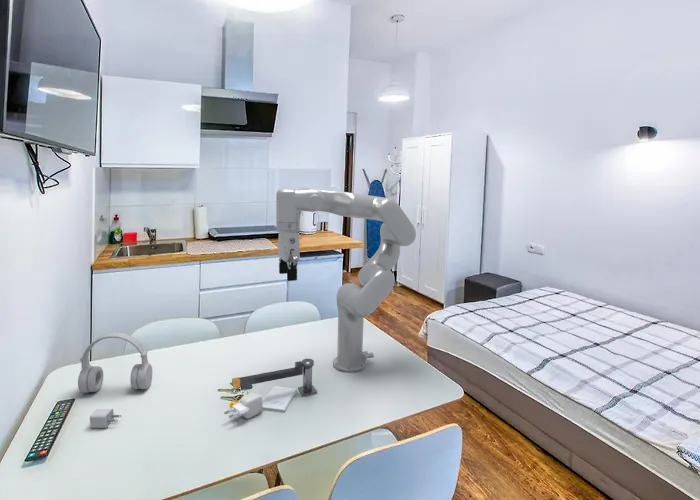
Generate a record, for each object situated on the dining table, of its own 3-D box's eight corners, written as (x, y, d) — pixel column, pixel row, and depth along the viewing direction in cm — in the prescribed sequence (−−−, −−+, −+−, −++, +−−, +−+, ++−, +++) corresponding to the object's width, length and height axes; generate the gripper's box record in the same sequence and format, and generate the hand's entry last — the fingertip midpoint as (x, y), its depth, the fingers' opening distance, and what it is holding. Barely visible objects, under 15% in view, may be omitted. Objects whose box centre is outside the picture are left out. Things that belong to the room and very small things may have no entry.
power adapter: (231, 429, 114) (231, 410, 113) (222, 422, 117) (221, 403, 116) (264, 413, 122) (264, 395, 121) (255, 406, 125) (254, 389, 124)
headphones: (154, 380, 139) (150, 327, 135) (146, 394, 131) (142, 338, 127) (90, 384, 135) (84, 330, 132) (78, 398, 127) (71, 341, 123)
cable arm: (311, 368, 136) (311, 357, 135) (315, 373, 132) (315, 362, 132) (231, 383, 125) (231, 372, 124) (233, 390, 122) (233, 378, 121)
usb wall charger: (98, 420, 117) (97, 407, 116) (123, 420, 117) (122, 407, 116) (90, 429, 113) (89, 416, 112) (116, 429, 113) (115, 416, 112)
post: (312, 386, 138) (312, 361, 136) (317, 393, 134) (317, 367, 132) (297, 389, 136) (298, 363, 134) (302, 396, 131) (302, 370, 130)
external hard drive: (296, 392, 135) (284, 414, 123) (273, 390, 136) (258, 411, 124) (296, 388, 135) (284, 409, 123) (273, 385, 136) (258, 406, 124)
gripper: (307, 230, 128) (306, 282, 131) (291, 223, 143) (291, 270, 146) (284, 230, 124) (284, 284, 128) (270, 223, 140) (270, 271, 143)
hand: (287, 276), depth 137 cm, fingers open, 9 cm apart
